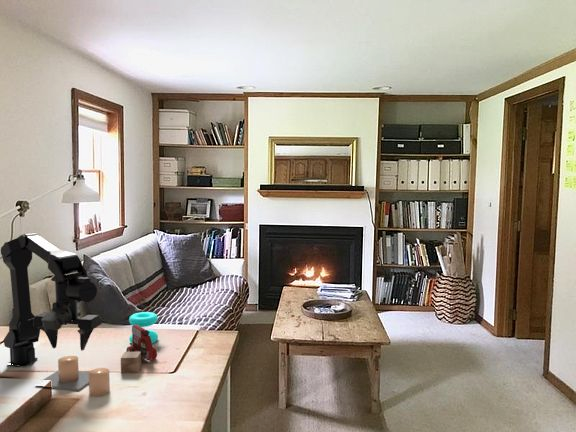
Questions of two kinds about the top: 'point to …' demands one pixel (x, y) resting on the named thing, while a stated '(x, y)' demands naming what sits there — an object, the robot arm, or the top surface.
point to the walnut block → (130, 362)
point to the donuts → (144, 323)
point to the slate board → (73, 385)
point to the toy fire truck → (142, 343)
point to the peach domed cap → (99, 382)
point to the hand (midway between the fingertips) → (68, 349)
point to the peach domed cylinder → (68, 369)
